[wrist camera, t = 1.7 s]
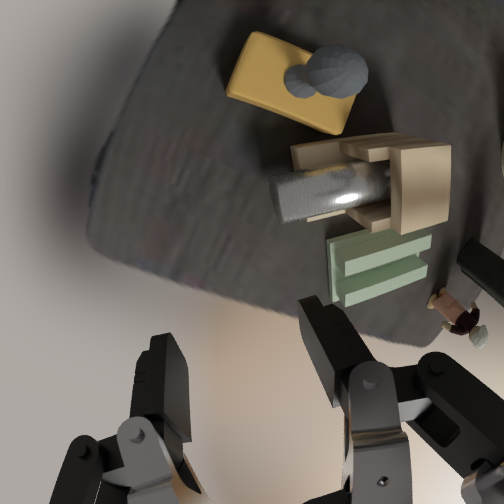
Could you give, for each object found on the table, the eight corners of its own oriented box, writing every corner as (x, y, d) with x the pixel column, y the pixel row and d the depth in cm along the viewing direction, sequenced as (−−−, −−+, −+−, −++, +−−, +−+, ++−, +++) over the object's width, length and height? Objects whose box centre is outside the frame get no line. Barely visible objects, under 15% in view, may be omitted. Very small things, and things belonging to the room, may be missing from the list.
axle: (274, 214, 25) (287, 232, 22) (266, 171, 23) (278, 182, 20) (400, 186, 26) (424, 198, 23) (399, 149, 24) (425, 157, 21)
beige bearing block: (290, 145, 24) (329, 160, 17) (394, 132, 25) (450, 145, 18) (300, 214, 28) (337, 253, 20) (396, 192, 29) (447, 220, 21)
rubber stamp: (343, 82, 22) (429, 73, 12) (323, 133, 24) (403, 152, 14) (246, 40, 19) (283, -15, 9) (223, 95, 22) (243, 74, 11)
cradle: (326, 239, 30) (340, 254, 27) (417, 214, 30) (435, 225, 27) (329, 297, 33) (341, 315, 30) (412, 268, 34) (427, 281, 31)
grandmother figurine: (423, 315, 40) (466, 366, 29) (421, 301, 38) (469, 354, 27) (454, 290, 39) (499, 334, 28) (454, 275, 37) (503, 320, 26)
